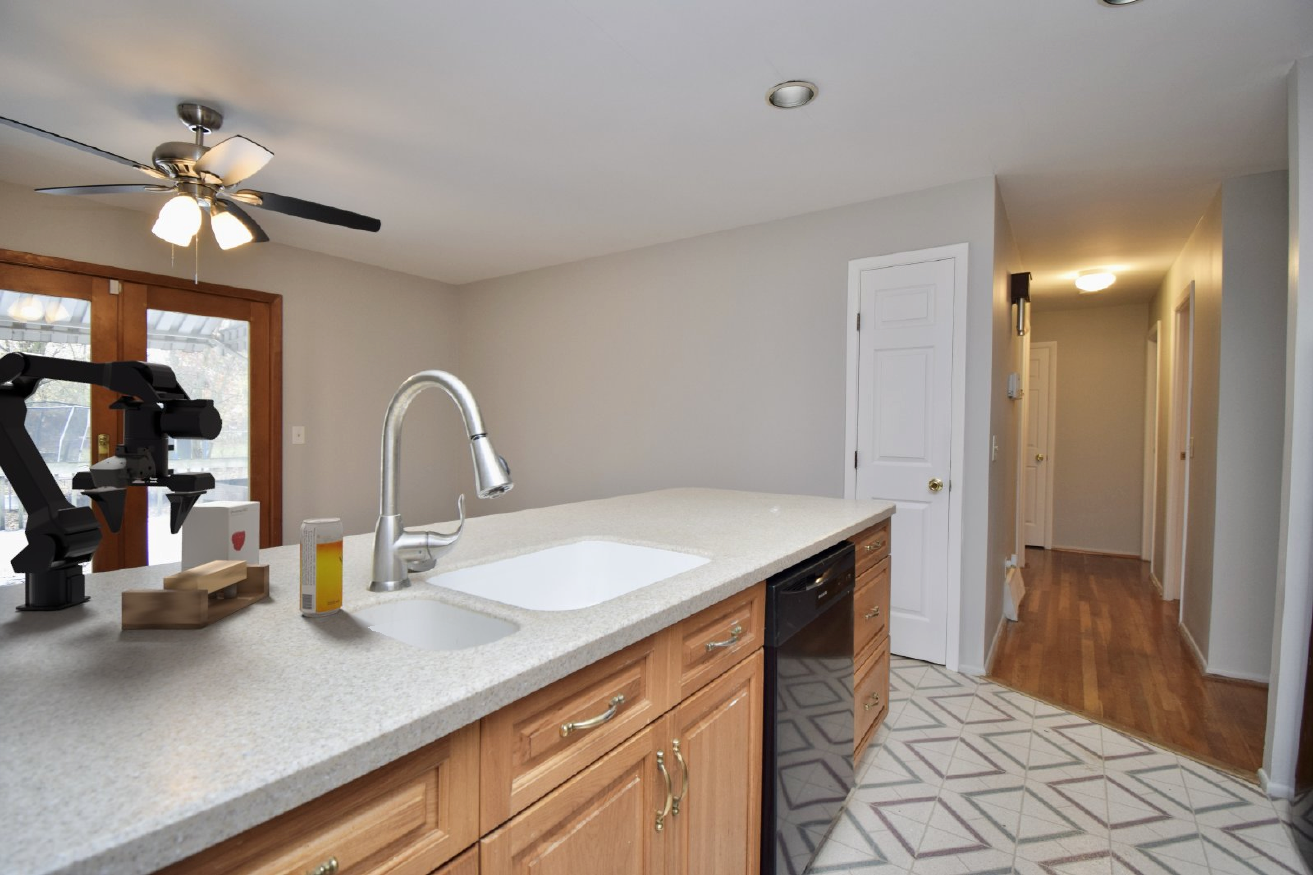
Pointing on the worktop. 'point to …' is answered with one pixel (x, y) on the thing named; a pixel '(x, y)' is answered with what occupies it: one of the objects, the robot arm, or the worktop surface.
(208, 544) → the supplement box
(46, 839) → the worktop surface
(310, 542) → the beer can
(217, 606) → the peg frame
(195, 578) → the shelf board
